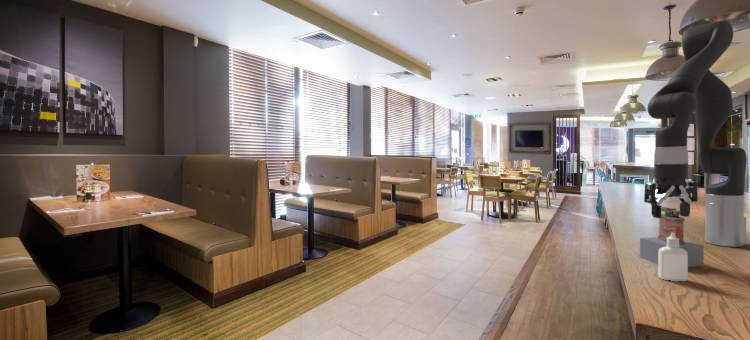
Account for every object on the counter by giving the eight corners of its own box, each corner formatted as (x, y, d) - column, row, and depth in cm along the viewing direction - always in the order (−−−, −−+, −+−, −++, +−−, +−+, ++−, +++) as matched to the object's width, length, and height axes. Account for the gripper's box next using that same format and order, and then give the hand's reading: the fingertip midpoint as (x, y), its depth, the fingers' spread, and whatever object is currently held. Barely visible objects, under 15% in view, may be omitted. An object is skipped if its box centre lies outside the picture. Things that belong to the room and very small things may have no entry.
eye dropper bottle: (686, 284, 83) (687, 236, 83) (657, 279, 87) (657, 233, 87) (687, 279, 86) (688, 233, 86) (659, 274, 90) (659, 230, 90)
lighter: (688, 245, 96) (688, 210, 95) (674, 245, 96) (675, 210, 96) (667, 238, 104) (667, 205, 103) (655, 238, 104) (655, 205, 104)
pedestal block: (670, 255, 106) (670, 236, 105) (703, 266, 96) (703, 245, 95) (640, 257, 105) (640, 238, 105) (669, 267, 95) (669, 246, 95)
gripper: (681, 161, 103) (681, 213, 104) (637, 162, 102) (637, 215, 103) (707, 161, 96) (706, 218, 96) (659, 163, 95) (658, 220, 96)
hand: (670, 217), depth 100 cm, fingers open, 8 cm apart
